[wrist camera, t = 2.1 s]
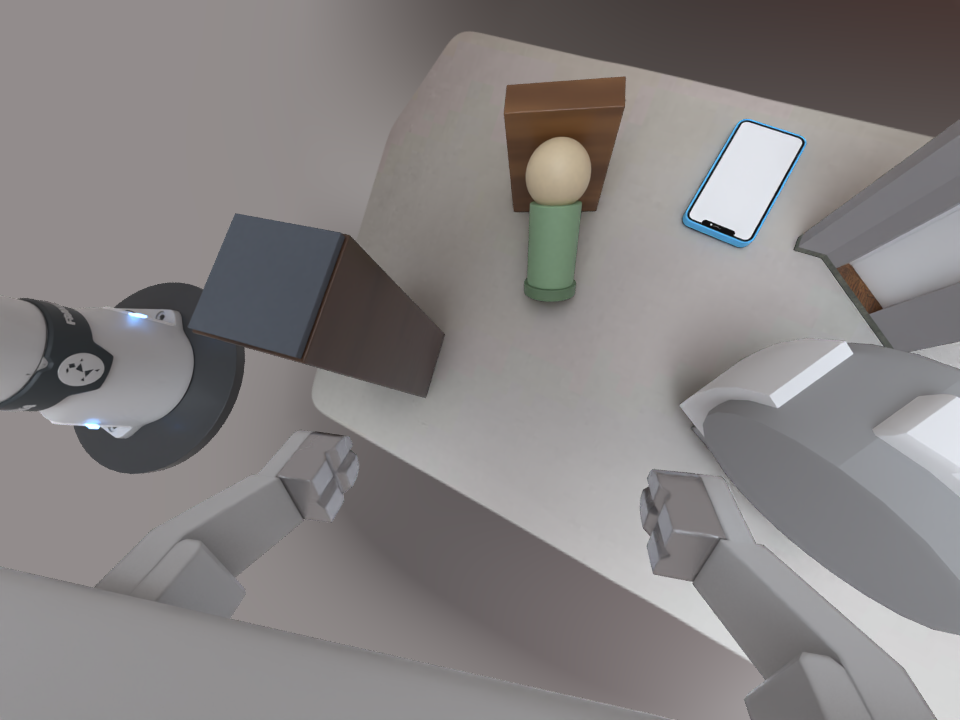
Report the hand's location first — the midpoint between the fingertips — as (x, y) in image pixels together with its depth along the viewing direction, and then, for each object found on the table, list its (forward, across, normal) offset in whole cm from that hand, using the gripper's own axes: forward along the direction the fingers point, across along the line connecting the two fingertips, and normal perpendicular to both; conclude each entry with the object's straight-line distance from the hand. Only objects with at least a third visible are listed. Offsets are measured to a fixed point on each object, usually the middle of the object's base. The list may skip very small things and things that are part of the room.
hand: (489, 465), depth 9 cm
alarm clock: (+21, -22, +20) cm, 37 cm away
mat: (+11, +15, -1) cm, 19 cm away
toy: (+35, -2, +6) cm, 36 cm away
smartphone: (+43, -22, -1) cm, 48 cm away
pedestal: (+26, +15, +15) cm, 34 cm away
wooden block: (+41, -2, 0) cm, 41 cm away
